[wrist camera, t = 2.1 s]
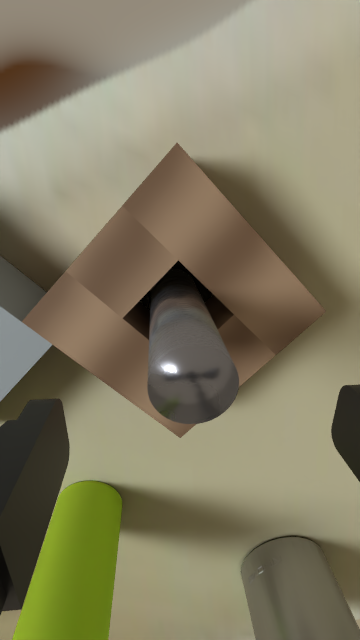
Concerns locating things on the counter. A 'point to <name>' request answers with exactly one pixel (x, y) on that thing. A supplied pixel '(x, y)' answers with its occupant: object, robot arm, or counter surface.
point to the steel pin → (187, 354)
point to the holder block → (152, 264)
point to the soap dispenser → (75, 568)
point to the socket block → (17, 326)
